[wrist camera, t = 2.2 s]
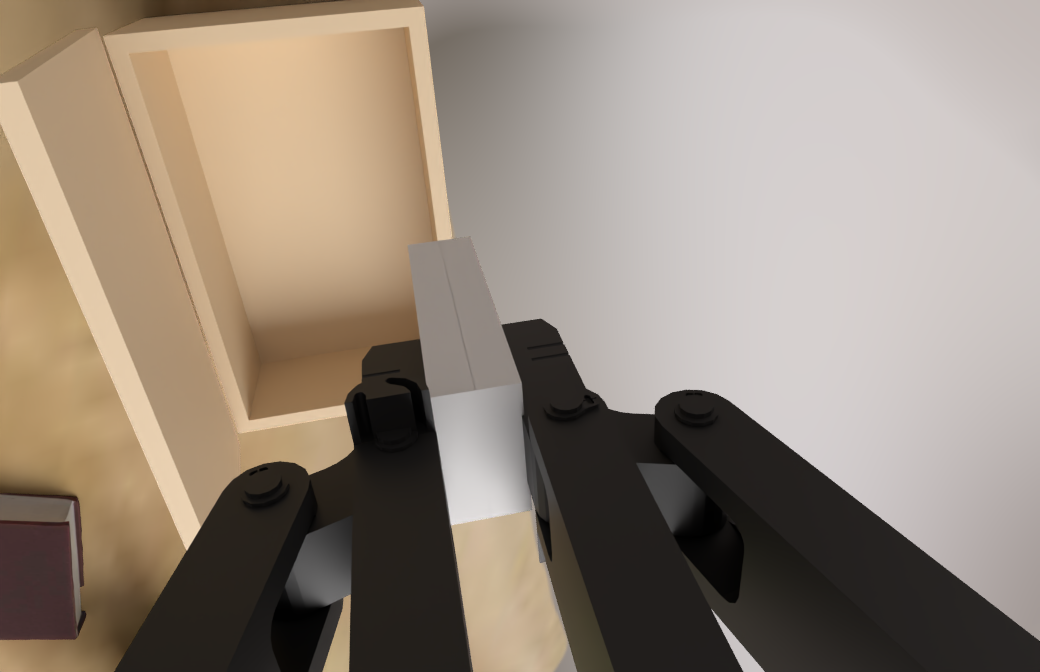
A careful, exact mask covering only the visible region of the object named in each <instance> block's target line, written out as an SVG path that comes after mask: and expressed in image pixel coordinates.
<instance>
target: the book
mask: <svg viewBox="0 0 1040 672" xmlns="http://www.w3.org/2000/svg"><path fill="white" fill-rule="evenodd" d="M81 532H82V529H81V517H80V506H79V501H78V498H77V497H71V496H58V495H35V494H13V493H0V640H30V639H42V640H56V639H74V640H75V639H76V638H77V637H78V635H79V633H80V630H81V627H82V625H83V623H84V621H85V618H86V613H85V611H81V599H80V587H82V586H84V579H83V547H82V540H81Z"/></svg>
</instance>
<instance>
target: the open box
mask: <svg viewBox="0 0 1040 672" xmlns="http://www.w3.org/2000/svg"><path fill="white" fill-rule="evenodd" d="M103 38H104V41H105V44H106V47H107V50H108V53H109V56H110V59H111V62H112V65H113V68H114V71H115V74H116V76H117V79H118V82H119V85H120V88H121V91H122V94H123V97H124V100H125V103H126V106H127V109H128V112H129V115H130V118H131V120H132V123H133V126H134V129H135V132H136V135H137V138H138V141H139V144H140V147H141V150H142V153H143V156H144V159H145V161H146V164H147V167H148V170H149V173H150V176H151V179H152V182H153V185H154V188H155V191H156V194H157V197H158V200H159V202H160V205H161V208H162V211H163V214H164V217H165V220H166V223H167V226H168V229H169V232H170V235H171V238H172V241H173V243H174V246H175V249H176V252H177V255H178V258H179V261H180V264H181V267H182V270H183V273H184V276H185V279H186V282H187V285H188V287H189V290H190V293H191V296H192V299H193V302H194V305H195V308H196V311H197V314H198V317H199V320H200V323H201V326H202V328H203V331H204V334H205V337H206V340H207V343H208V346H209V349H210V352H211V355H212V358H213V361H214V364H215V367H216V369H217V372H218V375H219V378H220V381H221V384H222V387H223V390H224V393H225V396H226V399H227V402H228V405H229V408H230V410H231V413H232V416H233V419H234V422H235V425H236V428H237V431H238V434H239V433H245V432H251V431H257V430H263V429H269V428H275V427H281V426H287V425H293V424H299V423H305V422H311V421H316V420H322V419H328V418H334V417H340V416H346V415H347V413H346V409H345V405H344V402H345V400H346V397H347V394H348V393H349V392H350V391H351V390H352V389H353V388H354V387H355V386H357V385H358V384H360V383H362V360H363V358H364V357H365V356H366V354H367V353H368V351H369V350H370V349H371V347H372V346H377V345H383V344H390V343H397V342H403V341H410V340H416V339H420V334H419V326H418V319H417V311H416V304H415V297H414V289H413V282H412V274H411V267H410V259H409V252H408V245H411V244H418V243H425V242H433V241H440V240H447V239H452V233H451V225H450V217H449V208H448V200H447V192H446V184H445V176H444V168H443V160H442V152H441V143H440V135H439V127H438V119H437V111H436V102H435V94H434V86H433V78H432V70H431V62H430V54H429V46H428V37H427V30H426V21H425V13H424V6H423V5H422V4H421V3H420V1H419V0H339V1H328V2H316V3H305V4H294V5H283V6H272V7H261V8H249V9H238V10H227V11H216V12H205V13H194V14H182V15H171V16H160V17H149V18H142V19H140V20H138V21H136V22H133V23H131V24H129V25H126V26H124V27H122V28H120V29H117V30H115V31H113V32H110V33H108V34H106V35H104V36H103Z"/></svg>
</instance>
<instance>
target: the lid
mask: <svg viewBox="0 0 1040 672" xmlns="http://www.w3.org/2000/svg"><path fill="white" fill-rule="evenodd" d="M0 124H1V126H2V128H3V131H4V133H5V135H6V137H7V140H8V142H9V144H10V147H11V149H12V151H13V153H14V156H15V158H16V160H17V163H18V165H19V167H20V170H21V172H22V174H23V176H24V179H25V181H26V183H27V186H28V188H29V190H30V192H31V195H32V197H33V199H34V202H35V204H36V206H37V209H38V211H39V213H40V215H41V218H42V220H43V222H44V225H45V227H46V229H47V231H48V234H49V236H50V238H51V241H52V243H53V245H54V248H55V250H56V252H57V254H58V257H59V259H60V261H61V264H62V266H63V268H64V270H65V273H66V275H67V277H68V280H69V282H70V284H71V287H72V289H73V291H74V293H75V296H76V298H77V300H78V303H79V305H80V307H81V309H82V312H83V314H84V316H85V319H86V321H87V323H88V326H89V328H90V330H91V332H92V335H93V337H94V339H95V342H96V344H97V346H98V348H99V351H100V353H101V355H102V358H103V360H104V362H105V365H106V367H107V369H108V371H109V374H110V376H111V378H112V381H113V383H114V385H115V387H116V390H117V392H118V394H119V397H120V399H121V401H122V404H123V406H124V408H125V410H126V413H127V415H128V417H129V420H130V422H131V424H132V426H133V429H134V431H135V433H136V436H137V438H138V440H139V443H140V445H141V447H142V449H143V452H144V454H145V456H146V459H147V461H148V463H149V465H150V468H151V470H152V472H153V475H154V477H155V479H156V482H157V484H158V486H159V488H160V491H161V493H162V495H163V498H164V500H165V502H166V504H167V507H168V509H169V511H170V514H171V516H172V518H173V521H174V523H175V525H176V527H177V530H178V532H179V534H180V537H181V539H182V541H183V543H184V546H185V548H186V550H188V548H189V546H190V545H191V543H192V541H193V540H194V538H195V536H196V535H197V533H198V531H199V530H200V528H201V526H202V525H203V523H204V521H205V520H206V518H207V516H208V515H209V513H210V511H211V510H212V508H213V506H214V505H215V503H216V501H217V500H218V498H219V496H220V495H221V493H222V491H223V490H224V489H225V488H226V487H227V486H228V484H229V483H230V482H231V481H232V480H233V479H234V478H236V477H237V476H239V475H240V474H241V470H240V443H239V440H238V437H237V434H236V431H235V428H234V425H233V422H232V419H231V416H230V414H229V411H228V408H227V405H226V402H225V399H224V396H223V393H222V390H221V387H220V384H219V381H218V379H217V376H216V373H215V370H214V367H213V364H212V361H211V358H210V355H209V352H208V349H207V346H206V344H205V341H204V338H203V335H202V332H201V329H200V326H199V323H198V320H197V317H196V314H195V312H194V309H193V306H192V303H191V300H190V297H189V294H188V291H187V288H186V285H185V282H184V279H183V277H182V274H181V271H180V268H179V265H178V262H177V259H176V256H175V253H174V250H173V247H172V244H171V242H170V239H169V236H168V233H167V230H166V227H165V224H164V221H163V218H162V215H161V212H160V210H159V207H158V204H157V201H156V198H155V195H154V192H153V189H152V186H151V183H150V180H149V177H148V175H147V172H146V169H145V166H144V163H143V160H142V157H141V154H140V151H139V148H138V145H137V143H136V140H135V137H134V134H133V131H132V128H131V125H130V122H129V119H128V116H127V113H126V110H125V108H124V105H123V102H122V99H121V96H120V93H119V90H118V87H117V84H116V81H115V78H114V75H113V73H112V70H111V67H110V64H109V61H108V58H107V55H106V52H105V49H104V46H103V43H102V41H101V38H100V35H99V32H98V29H97V28H87V29H77V30H75V31H73V32H71V33H70V34H68V35H67V36H65V37H63V38H62V39H60V40H58V41H57V42H55V43H53V44H52V45H50V46H48V47H47V48H45V49H43V50H42V51H40V52H38V53H37V54H35V55H33V56H32V57H30V58H28V59H27V60H25V61H23V62H22V63H20V64H18V65H17V66H15V67H13V68H12V69H10V70H8V71H7V72H5V73H3V74H2V75H0Z"/></svg>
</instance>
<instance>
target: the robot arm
mask: <svg viewBox="0 0 1040 672" xmlns="http://www.w3.org/2000/svg"><path fill="white" fill-rule="evenodd" d="M408 252H409V259H410V267H411V274H412V282H413V289H414V297H415V304H416V311H417V319H418V326H419V334H420V339H416V340H410V341H403V342H397V343H390V344H383V345H377V346H372V347H371V349H370V350H369V351H368V353H367V354H366V356H365V357H364V358H363V360H362V383H360V384H358V385H357V386H355V387H354V388H353V389H352V390H351V391H350V392H349V393H348V394H347V397H346V400H345V402H344V405H345V409H346V413H347V417H348V422H349V426H350V430H351V434H352V439H353V443H354V450H353V451H352V452H351V453H350V454H349V455H348V456H347V457H345V458H344V459H343V460H341V461H340V462H338V463H337V464H334V465H332V466H330V467H328V468H326V469H324V470H321V471H319V472H316V473H314V474H311V475H308V473H307V471H306V469H305V468H303V467H301V466H299V465H297V464H295V463H289V462H281V461H280V462H273V463H266V464H262V465H259V466H257V467H254V468H251V469H249V470H247V471H245V472H243V473H242V474H240V475H239V476H237V477H236V478H234V479H233V480H232V481H231V482H230V483H229V484H228V486H227V487H226V488H225V489H224V490H223V491H222V493H221V495H220V496H219V498H218V500H217V501H216V503H215V505H214V506H213V508H212V510H211V511H210V513H209V515H208V516H207V518H206V520H205V521H204V523H203V525H202V526H201V528H200V530H199V531H198V533H197V535H196V536H195V538H194V540H193V541H192V543H191V545H190V546H189V548H188V550H187V551H186V553H185V555H184V556H183V558H182V560H181V561H180V563H179V565H178V566H177V568H176V570H175V571H174V573H173V575H172V576H171V578H170V580H169V581H168V583H167V585H166V586H165V588H164V590H163V591H162V593H161V595H160V596H159V598H158V600H157V601H156V603H155V605H154V606H153V608H152V610H151V611H150V613H149V615H148V616H147V618H146V620H145V621H144V623H143V625H142V626H141V628H140V630H139V631H138V633H137V635H136V636H135V638H134V640H133V641H132V643H131V645H130V646H129V648H128V650H127V651H126V653H125V655H124V656H123V658H122V660H121V661H120V663H119V665H118V666H117V668H116V670H115V671H114V672H322V671H323V668H324V665H325V662H326V659H327V656H328V652H329V649H330V646H331V643H332V640H333V637H334V634H335V631H336V627H337V624H338V621H339V618H340V615H341V612H342V608H343V598H344V597H346V596H348V595H350V594H351V613H350V661H349V672H473V668H472V662H471V655H470V648H469V642H468V635H467V628H466V621H465V615H464V608H463V601H462V595H461V588H460V581H459V574H458V568H457V561H456V554H455V547H454V541H453V535H452V529H451V525H455V524H460V523H466V522H471V521H476V520H482V519H487V518H492V517H498V516H503V515H508V514H514V513H519V512H524V511H530V510H532V502H531V495H532V499H533V502H534V505H535V509H536V510H535V511H536V523H537V536H538V548H539V561H540V563H542V562H546V564H547V568H548V571H549V575H550V578H551V582H552V585H553V588H554V592H555V595H556V599H557V602H558V606H559V610H560V613H561V617H562V620H563V624H564V627H565V631H566V634H567V638H568V641H569V645H570V648H571V652H572V655H573V659H574V662H575V665H576V669H577V672H743V671H742V668H741V667H740V665H739V663H738V661H737V659H736V657H735V655H734V653H733V651H732V649H731V647H730V645H729V643H728V641H727V639H726V637H725V635H724V634H723V632H722V630H721V628H720V626H719V624H718V622H717V620H716V618H715V616H714V614H713V612H712V610H713V611H714V612H715V614H716V615H717V616H718V617H719V618H720V619H721V621H722V622H723V623H724V624H725V625H726V626H727V628H728V629H729V630H730V631H731V632H732V633H733V635H734V636H735V637H736V638H737V639H738V640H739V642H740V643H741V644H742V645H743V646H744V647H745V649H746V650H747V651H748V652H749V653H750V655H751V656H752V657H753V658H754V659H755V660H756V662H757V663H758V664H759V665H760V666H761V667H762V668H763V670H764V671H765V672H1040V641H1039V640H1038V639H1036V638H1035V637H1034V636H1032V635H1031V634H1030V633H1028V632H1027V631H1026V630H1025V629H1023V628H1022V627H1021V626H1019V625H1018V624H1017V623H1016V622H1014V621H1013V620H1012V619H1010V618H1009V617H1008V616H1007V615H1005V614H1004V613H1003V612H1001V611H1000V610H999V609H998V608H996V607H995V606H994V605H992V604H991V603H990V602H988V601H987V600H986V599H985V598H983V597H982V596H981V595H979V594H978V593H977V592H976V591H974V590H973V589H972V588H970V587H969V586H968V585H966V584H965V583H963V581H961V580H960V579H959V578H957V577H956V576H955V575H953V574H952V573H951V572H950V571H948V570H947V569H946V568H944V567H943V566H942V565H940V564H939V563H938V562H937V561H935V560H934V559H933V558H932V557H930V556H929V555H928V554H926V553H925V552H924V551H922V550H921V549H920V548H919V547H917V546H916V545H915V544H913V543H912V542H911V541H910V540H908V539H907V538H906V537H904V536H903V535H902V534H900V533H899V532H898V531H897V530H895V529H894V528H893V527H891V526H890V525H889V524H888V523H886V522H885V521H884V520H882V519H881V518H880V517H879V516H877V515H876V514H874V513H873V512H872V511H871V510H869V509H868V508H867V507H866V506H864V505H863V504H862V503H860V502H859V501H858V500H856V499H855V498H854V497H853V496H851V495H850V494H849V493H847V492H846V491H845V490H843V489H842V488H841V487H840V486H838V485H837V484H836V483H835V482H833V481H832V480H831V479H829V478H828V477H827V476H825V475H824V474H823V473H822V472H820V471H819V470H818V469H816V468H815V467H814V466H812V465H811V464H810V463H809V462H807V461H806V460H805V459H803V458H802V457H801V456H800V455H798V454H797V453H796V452H794V451H793V450H792V449H790V448H789V447H788V446H787V445H785V444H784V443H783V442H781V441H780V440H779V439H778V438H776V437H775V436H774V435H772V434H771V433H770V432H768V431H767V430H766V429H765V428H763V427H762V426H761V425H759V424H758V423H757V422H756V421H754V420H753V419H752V418H750V417H749V416H748V415H747V414H745V413H744V412H743V411H741V410H740V409H739V408H738V407H736V406H735V405H733V404H732V403H731V402H730V401H728V400H726V399H724V398H723V397H721V396H719V395H717V394H714V393H710V392H706V391H702V390H683V391H677V392H672V393H670V394H668V395H667V396H664V397H663V398H661V399H660V400H659V402H658V403H657V404H656V406H655V414H632V413H623V412H618V411H614V410H610V409H608V407H607V405H606V404H605V402H604V401H603V400H602V398H600V396H599V395H598V394H596V393H594V392H591V391H590V390H588V389H586V388H585V386H584V384H583V382H582V379H581V377H580V375H579V373H578V371H577V369H576V367H575V365H574V364H573V361H572V359H571V357H570V355H568V351H567V349H566V347H565V345H563V341H562V339H561V337H560V335H559V333H558V331H557V329H556V328H555V327H553V326H552V325H550V324H549V323H547V322H546V321H544V320H542V319H536V320H530V321H523V322H516V323H510V324H503V325H501V323H500V320H499V317H498V314H497V312H496V308H495V305H494V303H493V300H492V297H491V294H490V291H489V288H488V286H487V283H486V280H485V277H484V274H483V271H482V269H481V266H480V263H479V260H478V257H477V255H476V252H475V249H474V246H473V243H472V240H471V237H463V238H455V239H447V240H440V241H433V242H425V243H418V244H411V245H408ZM711 609H712V610H711Z"/></svg>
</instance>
